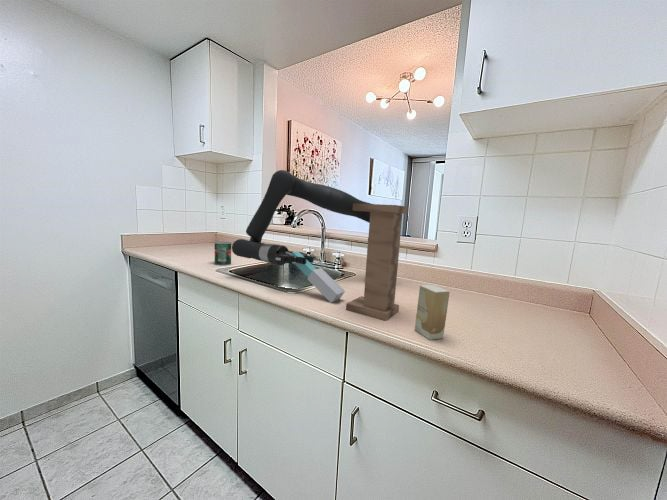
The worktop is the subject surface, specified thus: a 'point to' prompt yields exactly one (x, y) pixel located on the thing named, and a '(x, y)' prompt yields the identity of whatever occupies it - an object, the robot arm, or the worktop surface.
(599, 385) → the worktop surface
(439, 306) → the skincare box
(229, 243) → the canned tomato
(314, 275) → the tool
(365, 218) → the robot arm
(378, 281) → the tall wooden column
